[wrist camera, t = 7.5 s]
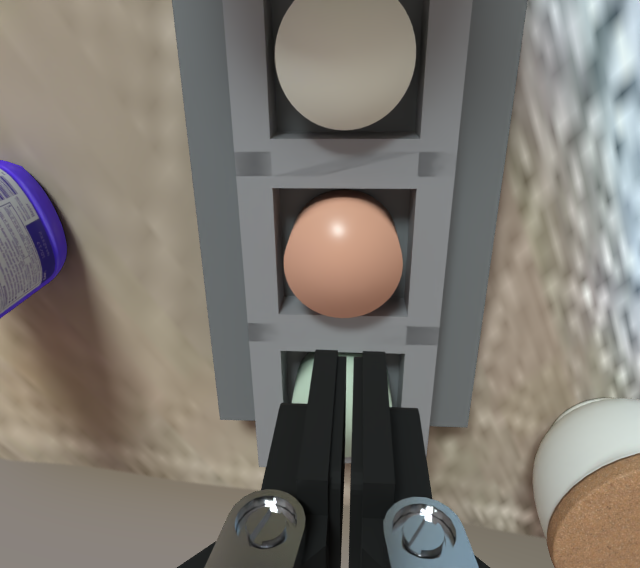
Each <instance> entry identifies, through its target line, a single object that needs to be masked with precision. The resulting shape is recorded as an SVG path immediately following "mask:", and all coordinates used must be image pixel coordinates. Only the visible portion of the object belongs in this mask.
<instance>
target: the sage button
mask: <svg viewBox="0 0 640 568" xmlns="http://www.w3.org/2000/svg"><path fill="white" fill-rule="evenodd" d="M314 355H315V352H309V353H308V354H307V355H306V356H305V357H304V359H303V360H302V361H301V363H300V365H299V368H298V370H297V375H296V381H295V387H294V392H293V398H292V403H302V404H307V403H308V396H309V389H310V383H311V376H312V369H313V362H314ZM362 355H363V353H353V352H338V356H346V357H347V362H346V433H345V457H351V447H352V407H353V367H354V357H362ZM387 380H388V394H389V407H392V401H391V391H390V382H389V375H388V371H387Z"/></svg>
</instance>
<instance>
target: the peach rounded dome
mask: <svg viewBox="0 0 640 568" xmlns="http://www.w3.org/2000/svg"><path fill="white" fill-rule="evenodd" d="M402 269H403V258H402V252H401V248H400V243H399V239H398V235H397V231H396V227H395V224H394V221H393V219H392V217H391V215H390V214H389V212H388V210H387V209H386V208H385V207H384V206H383V205H382V204H381V203H380V202H379V201H378V200H376V199H375V198H373V197H372V196H370V195H367V194H365V193H362V192H360V191H355V190H347V189H341V190H333V191H329V192H326V193H323V194H321V195H319V196H317V197H315V198H314V199H312V200H311V201H310V202H309V203H307V204H306V205H305V206H304V208H303V209H302V210H301V211H300V213H299V214H298V216H297V218H296V220H295V222H294V225H293V228H292V231H291V234H290V237H289V240H288V243H287V246H286V249H285V254H284V272H285V276H286V280H287V282H288V285H289V287H290V288H291V290H292V292H293V293H294V294H295V296H296V297H297V298H298V299H299V300H300V301H301V302H302V303H303V304H304V305H306V306H307V307H308V308H310V309H312V310H313V311H315V312H317V313H320V314H322V315H325V316H329V317H334V318H352V317H358V316H362V315H365V314H367V313H370V312H372V311H374V310H375V309H377V308H379V307H380V306H381V305H383V304H384V303H385V302H386V301H387V300H388V299H389V298H390V297H391V296H392V294H393V293H394V291H395V290H396V288H397V286H398V284H399V281H400V278H401V275H402Z"/></svg>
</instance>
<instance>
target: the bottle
mask: <svg viewBox="0 0 640 568" xmlns="http://www.w3.org/2000/svg"><path fill="white" fill-rule="evenodd" d="M66 255H67V244H66V238H65V234H64V230H63V227H62V224H61V222H60V220H59V217H58V215H57V213H56V210H55V208H54V206H53V205H52V203H51V201H50V199H49V198H48V196H47V195H46V193H45V192H44V190H43V189H42V187H41V186H40V185H39V183H38V182H37V181H36V180H35V179H34V178H33V177H32V176H31V175H30V174H29V173H28V172H27V171H26V170H25V169H24V168H23V167H22V166H19V165H16V164H13V163H10V162H7V161H3V160H0V318H1V317H3V316H4V315H5V314H7V313H8V312H10V311H11V310H12V309H14V308H15V307H16V306H18V305H19V304H20V303H22V302H23V301H25V300H26V299H27V298H29V297H30V296H31V295H32V294H34V293H35V292H37V291H38V290H39V289H41V288H42V287H43V286H45V285H46V284H48V283H49V282H50V281H51V280H53V279H54V278H55V277H56V276H57V274H58V273H59V272H60V270H61V268H62V266H63V265H64V262H65V260H66Z"/></svg>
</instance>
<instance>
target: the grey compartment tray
mask: <svg viewBox="0 0 640 568" xmlns="http://www.w3.org/2000/svg"><path fill="white" fill-rule="evenodd" d="M398 1H399V2H400V3H401V5H402V6H403V7H404V9H405V11H406V13H407V15H408V16H409V19H410V21H411V24H412V27H413V31H414V35H415V42H416V61H415V68H414V72H413V76H412V79H411V82H410V84H409V87H408V89H407V90H406V92H405V94H404V96H403V97H402V99H401V100H400V102H399V103H398V104H397V105H396V106H395V107H394V109H393V110H392V111H390V112H389V113H388V114H387V115H386V116H385V117H383V118H382V119H380V120H379V121H377V122H375V123H373V124H371V125H369V126H366V127H363V128H359V129H354V130H334V129H329V128H325V127H323V126H320V125H317V124H315V123H313V122H311V121H310V120H308V119H307V118H305V117H304V116H303V115H302V114H301V113H299V112H298V111H297V110H296V109H295V107H294V106H293V105H292V104H291V103H290V101H289V100H288V98H287V97H286V95H285V93H284V91H283V89H282V87H281V85H280V82H279V79H278V75H277V71H276V65H275V44H276V38H277V34H278V30H279V27H280V24H281V22H282V19H283V17H284V15H285V14H286V12H287V10H288V8H289V7H290V6H291V4H292V3H293V2H294V0H172V5H173V14H174V23H175V31H176V40H177V49H178V57H179V66H180V75H181V83H182V92H183V101H184V110H185V118H186V127H187V136H188V144H189V153H190V162H191V170H192V179H193V188H194V196H195V205H196V214H197V223H198V231H199V240H200V249H201V257H202V266H203V275H204V283H205V292H206V301H207V309H208V318H209V327H210V336H211V344H212V353H213V362H214V370H215V379H216V388H217V396H218V405H219V414H220V420H251V421H255V422H256V435H257V447H258V460H259V467H266V466H267V461H268V456H269V452H270V447H271V443H272V438H273V434H274V429H275V425H276V420H277V416H278V411H279V407H280V404H281V403H292V398H293V392H294V387H295V381H296V375H297V370H298V368H299V365H300V363H301V361H302V360H303V359H304V357H305V356H306V355H307V354H308V353H309V352H315V350H316V349H318V350H338V352H353V353H363V351H381V352H385V354H386V367H387V371H388V375H389V382H390V391H391V401H392V407H404V408H418V410H419V414H420V421H421V428H422V434H423V441H424V447H425V454H426V455H427V445H428V435H429V426H442V427H467V426H468V419H469V412H470V405H471V398H472V391H473V384H474V376H475V369H476V362H477V355H478V348H479V341H480V334H481V327H482V320H483V313H484V306H485V299H486V291H487V284H488V277H489V270H490V263H491V256H492V249H493V242H494V235H495V228H496V221H497V214H498V206H499V199H500V192H501V185H502V178H503V171H504V164H505V157H506V150H507V143H508V136H509V129H510V121H511V114H512V107H513V100H514V93H515V86H516V79H517V72H518V65H519V58H520V51H521V44H522V36H523V29H524V22H525V15H526V8H527V1H528V0H398ZM341 189H347V190H355V191H360V192H362V193H365V194H367V195H370V196H372V197H373V198H375V199H376V200H378V201H379V202H380V203H381V204H382V205H383V206H384V207H385V208H386V209H387V210H388V212H389V214H390V215H391V217H392V219H393V221H394V224H395V227H396V231H397V235H398V239H399V243H400V248H401V252H402V258H403V269H402V275H401V278H400V281H399V284H398V286H397V288H396V290H395V291H394V293H393V294H392V296H391V297H390V298H389V299H388V300H387V301H386V302H385V303H384V304H383V305H381V306H380V307H379V308H377V309H375V310H374V311H372V312H370V313H367V314H365V315H362V316H358V317H352V318H334V317H329V316H325V315H322V314H320V313H317V312H315V311H313V310H312V309H310V308H308V307H307V306H306V305H304V304H303V303H302V302H301V301H300V300H299V299H298V298H297V297H296V296H295V294H294V293H293V292H292V290H291V288H290V287H289V285H288V282H287V280H286V276H285V272H284V254H285V249H286V246H287V243H288V240H289V237H290V234H291V231H292V228H293V225H294V222H295V220H296V218H297V216H298V214H299V213H300V211H301V210H302V209H303V208H304V206H305V205H306V204H307V203H309V202H310V201H311V200H312V199H314V198H315V197H317V196H319V195H321V194H323V193H326V192H329V191H333V190H341ZM345 463H351V457H345Z"/></svg>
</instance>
